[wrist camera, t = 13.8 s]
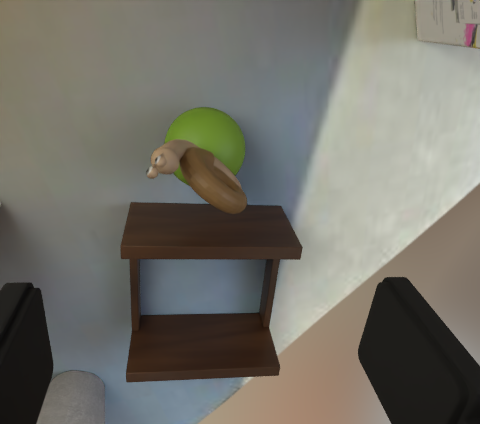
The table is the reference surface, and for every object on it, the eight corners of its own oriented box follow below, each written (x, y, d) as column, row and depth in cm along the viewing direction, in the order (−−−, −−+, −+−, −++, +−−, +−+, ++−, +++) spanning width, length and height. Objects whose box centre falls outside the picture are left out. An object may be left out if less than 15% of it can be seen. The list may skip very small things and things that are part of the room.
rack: (130, 202, 31) (120, 246, 26) (281, 205, 33) (302, 247, 28) (134, 323, 37) (126, 382, 31) (263, 320, 39) (278, 375, 33)
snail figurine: (183, 74, 28) (187, 116, 17) (254, 130, 30) (295, 198, 20) (138, 136, 29) (116, 210, 19) (209, 184, 32) (225, 274, 21)
